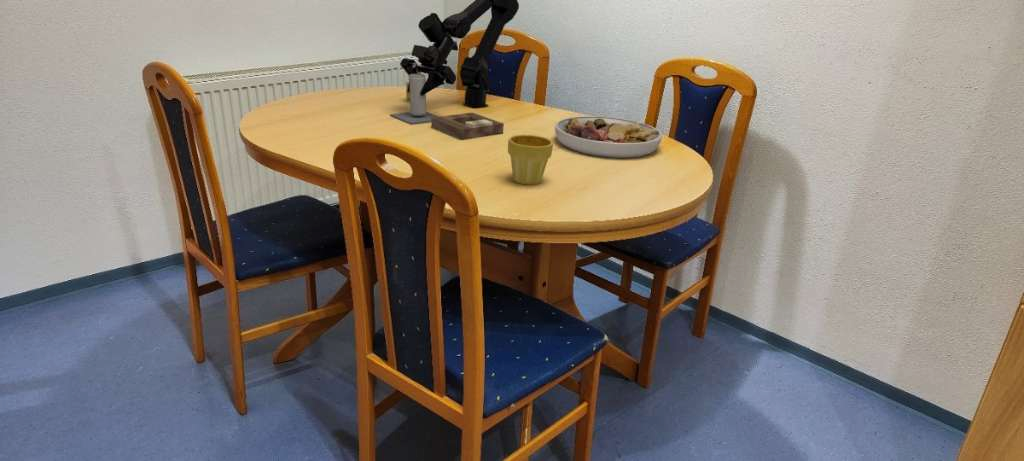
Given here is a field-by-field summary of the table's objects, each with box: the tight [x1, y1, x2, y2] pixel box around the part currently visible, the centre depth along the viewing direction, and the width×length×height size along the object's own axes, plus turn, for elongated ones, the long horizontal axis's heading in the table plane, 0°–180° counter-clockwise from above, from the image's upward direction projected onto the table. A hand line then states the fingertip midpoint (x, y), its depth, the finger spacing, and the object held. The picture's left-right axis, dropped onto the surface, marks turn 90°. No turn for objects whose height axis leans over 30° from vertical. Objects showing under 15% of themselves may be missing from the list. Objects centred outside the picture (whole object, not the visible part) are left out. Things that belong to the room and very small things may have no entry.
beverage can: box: [408, 73, 427, 116], centre depth 204 cm, size 5×5×12 cm
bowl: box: [554, 115, 663, 159], centre depth 190 cm, size 30×30×8 cm
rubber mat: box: [389, 111, 440, 126], centre depth 206 cm, size 12×12×1 cm
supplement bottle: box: [405, 74, 410, 104], centre depth 224 cm, size 5×5×10 cm
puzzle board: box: [430, 112, 505, 141], centre depth 196 cm, size 15×15×4 cm
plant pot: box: [507, 133, 554, 186], centre depth 156 cm, size 10×10×10 cm
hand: (414, 93), depth 202 cm, fingers closed on beverage can, 5 cm apart
